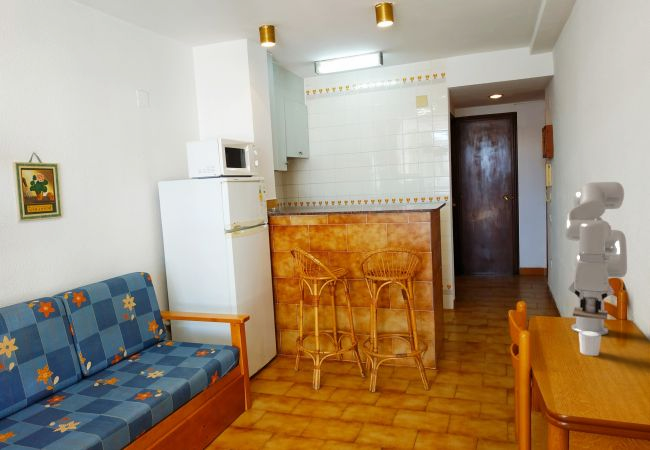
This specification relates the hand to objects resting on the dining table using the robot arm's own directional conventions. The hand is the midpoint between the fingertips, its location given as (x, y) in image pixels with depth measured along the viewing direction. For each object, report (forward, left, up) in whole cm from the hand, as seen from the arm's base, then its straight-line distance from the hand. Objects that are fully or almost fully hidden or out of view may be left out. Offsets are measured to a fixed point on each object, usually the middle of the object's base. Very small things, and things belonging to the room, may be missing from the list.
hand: (590, 310), depth 157 cm
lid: (0, 0, -1) cm, 1 cm away
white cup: (0, 0, -15) cm, 15 cm away
